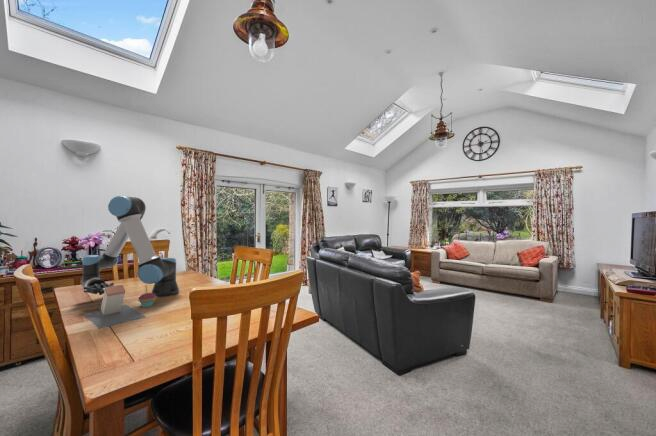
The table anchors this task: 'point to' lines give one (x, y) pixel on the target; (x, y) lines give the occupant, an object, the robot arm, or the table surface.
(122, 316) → the mat
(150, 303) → the cupcake
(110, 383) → the table surface
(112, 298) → the tall block
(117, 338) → the table surface
